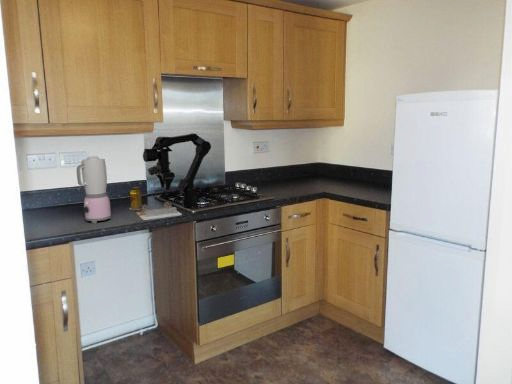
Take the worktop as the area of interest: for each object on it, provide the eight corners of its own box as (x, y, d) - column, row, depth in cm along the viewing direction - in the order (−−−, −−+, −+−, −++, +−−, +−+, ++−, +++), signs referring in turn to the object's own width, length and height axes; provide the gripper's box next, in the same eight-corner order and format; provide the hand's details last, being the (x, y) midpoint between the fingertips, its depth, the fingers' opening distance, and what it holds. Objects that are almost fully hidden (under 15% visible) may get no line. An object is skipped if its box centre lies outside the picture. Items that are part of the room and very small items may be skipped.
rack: (173, 209, 236) (173, 201, 235) (176, 211, 231) (176, 203, 230) (136, 214, 227) (136, 205, 226) (139, 216, 221) (138, 207, 220)
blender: (101, 216, 224) (96, 155, 218) (116, 219, 217) (111, 156, 211) (74, 222, 211) (67, 158, 205) (89, 226, 205) (83, 159, 198)
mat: (177, 212, 230) (177, 210, 230) (181, 215, 223) (181, 214, 223) (139, 216, 221) (139, 215, 221) (143, 220, 214) (143, 219, 214)
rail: (174, 212, 227) (174, 206, 226) (176, 213, 224) (176, 207, 224) (144, 216, 220) (144, 210, 219) (146, 217, 217) (145, 211, 216)
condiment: (127, 209, 239) (126, 188, 237) (137, 206, 247) (136, 185, 244) (138, 210, 236) (136, 188, 234) (147, 207, 244) (146, 186, 241)
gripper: (144, 159, 233) (145, 187, 236) (153, 163, 217) (154, 193, 220) (164, 158, 238) (165, 185, 241) (174, 161, 222) (175, 191, 225)
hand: (165, 189), depth 232 cm, fingers open, 9 cm apart
